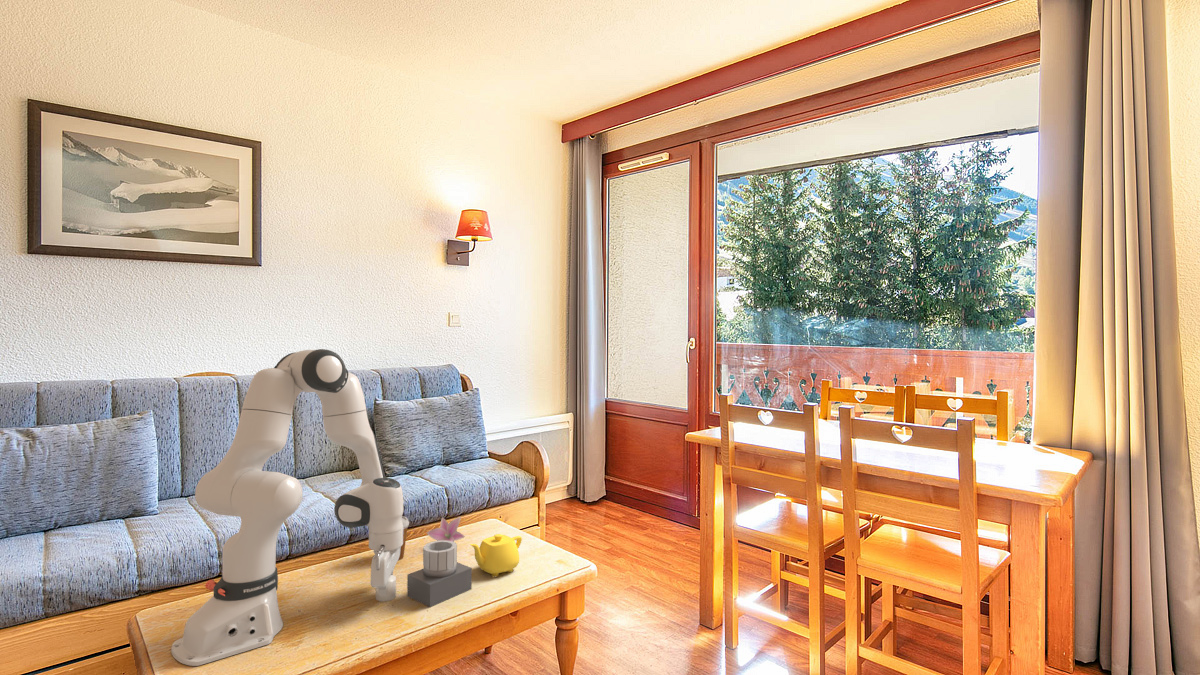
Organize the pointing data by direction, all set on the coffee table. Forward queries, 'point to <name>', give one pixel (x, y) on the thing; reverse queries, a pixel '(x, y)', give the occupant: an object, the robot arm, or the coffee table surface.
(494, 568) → the teapot
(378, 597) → the white egg
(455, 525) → the lily
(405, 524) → the disposable coffee cup
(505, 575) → the coffee table surface
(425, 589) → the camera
